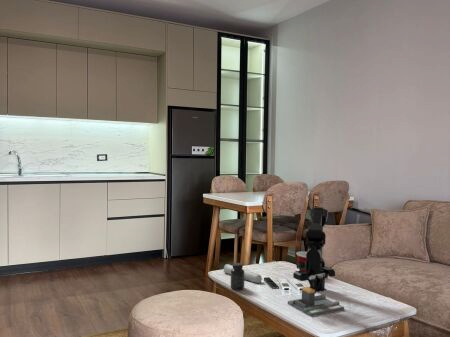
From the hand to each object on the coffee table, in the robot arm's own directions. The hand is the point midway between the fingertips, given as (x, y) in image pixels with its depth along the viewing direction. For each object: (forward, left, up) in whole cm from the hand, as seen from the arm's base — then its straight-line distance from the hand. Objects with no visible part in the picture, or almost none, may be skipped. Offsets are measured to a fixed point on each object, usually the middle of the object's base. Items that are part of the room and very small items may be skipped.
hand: (314, 293), depth 178 cm
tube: (+7, -50, -6) cm, 51 cm away
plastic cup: (-27, -40, -6) cm, 49 cm away
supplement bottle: (+18, -36, -6) cm, 41 cm away
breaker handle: (+3, 0, -5) cm, 6 cm away
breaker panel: (-1, 0, -6) cm, 6 cm away
